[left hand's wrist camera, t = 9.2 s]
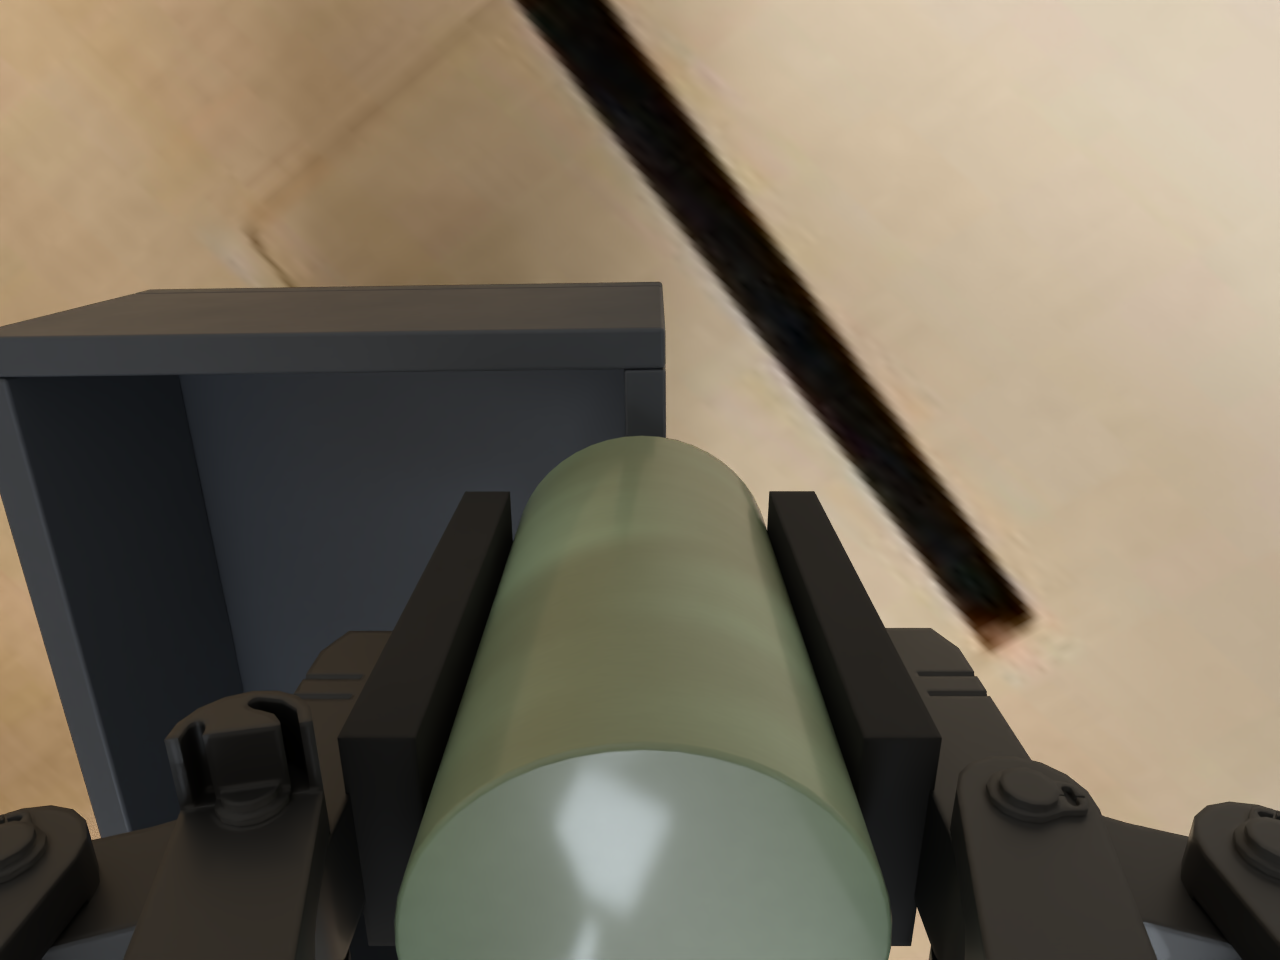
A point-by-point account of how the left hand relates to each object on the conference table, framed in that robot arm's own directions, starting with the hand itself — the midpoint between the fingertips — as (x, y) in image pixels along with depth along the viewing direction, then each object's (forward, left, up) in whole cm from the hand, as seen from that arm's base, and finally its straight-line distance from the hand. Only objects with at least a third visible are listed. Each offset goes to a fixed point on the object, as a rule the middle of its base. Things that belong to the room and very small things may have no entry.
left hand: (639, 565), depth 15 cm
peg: (0, 0, 0) cm, 0 cm away
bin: (+6, +7, -9) cm, 14 cm away
